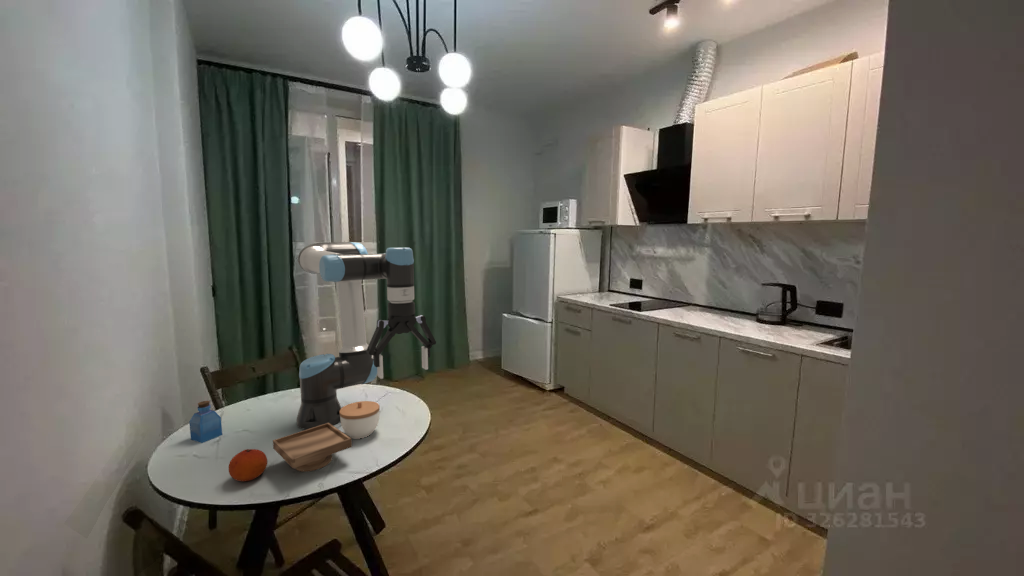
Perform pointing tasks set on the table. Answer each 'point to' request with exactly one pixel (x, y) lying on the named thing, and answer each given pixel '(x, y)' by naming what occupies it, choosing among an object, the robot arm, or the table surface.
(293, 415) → the table surface
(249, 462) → the fruit
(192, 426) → the perfume bottle
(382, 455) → the table surface
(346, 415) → the lidded bowl
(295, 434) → the tray
